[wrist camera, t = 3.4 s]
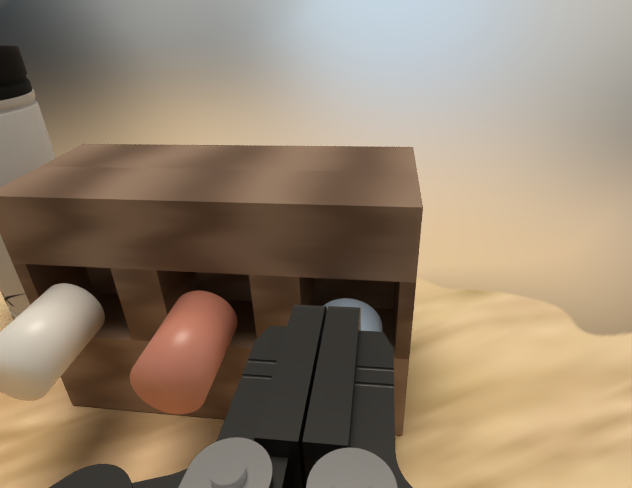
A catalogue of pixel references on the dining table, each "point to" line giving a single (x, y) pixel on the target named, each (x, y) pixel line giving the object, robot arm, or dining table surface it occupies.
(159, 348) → the red key
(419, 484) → the dining table surface
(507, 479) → the dining table surface
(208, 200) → the box
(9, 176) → the travel mug
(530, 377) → the dining table surface
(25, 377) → the white key
